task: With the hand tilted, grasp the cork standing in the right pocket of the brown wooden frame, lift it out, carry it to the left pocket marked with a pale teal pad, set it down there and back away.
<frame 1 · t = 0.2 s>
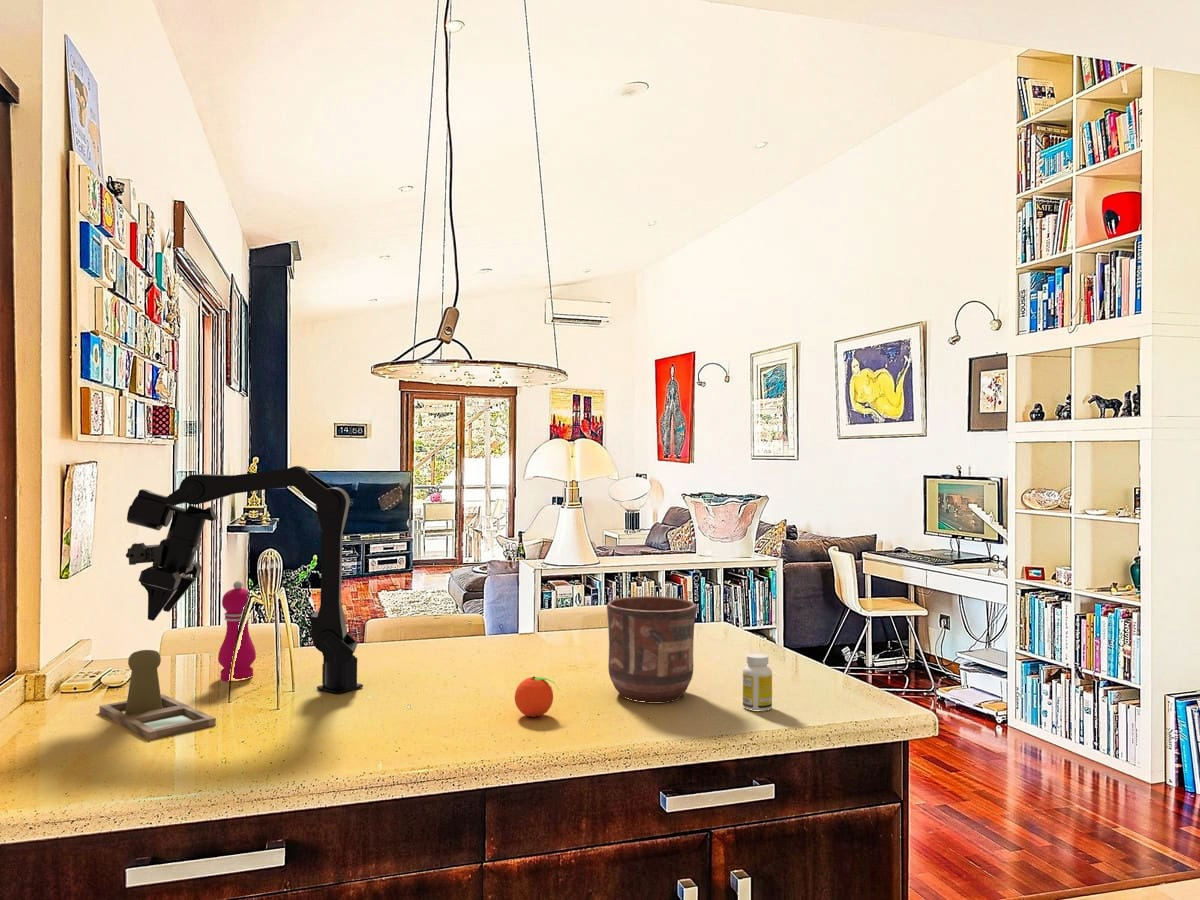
hand: (158, 615, 172), 15 cm above the counter, tool tilted 15°, fingers open, 9 cm apart
clementine: (536, 717, 161), on the counter
supplement bottle: (757, 709, 167), on the counter
brown wooden frame: (156, 718, 157), on the counter
pottery: (650, 695, 176), on the counter
cork: (144, 713, 160), resting in brown wooden frame
pepper mill: (236, 678, 185), on the counter
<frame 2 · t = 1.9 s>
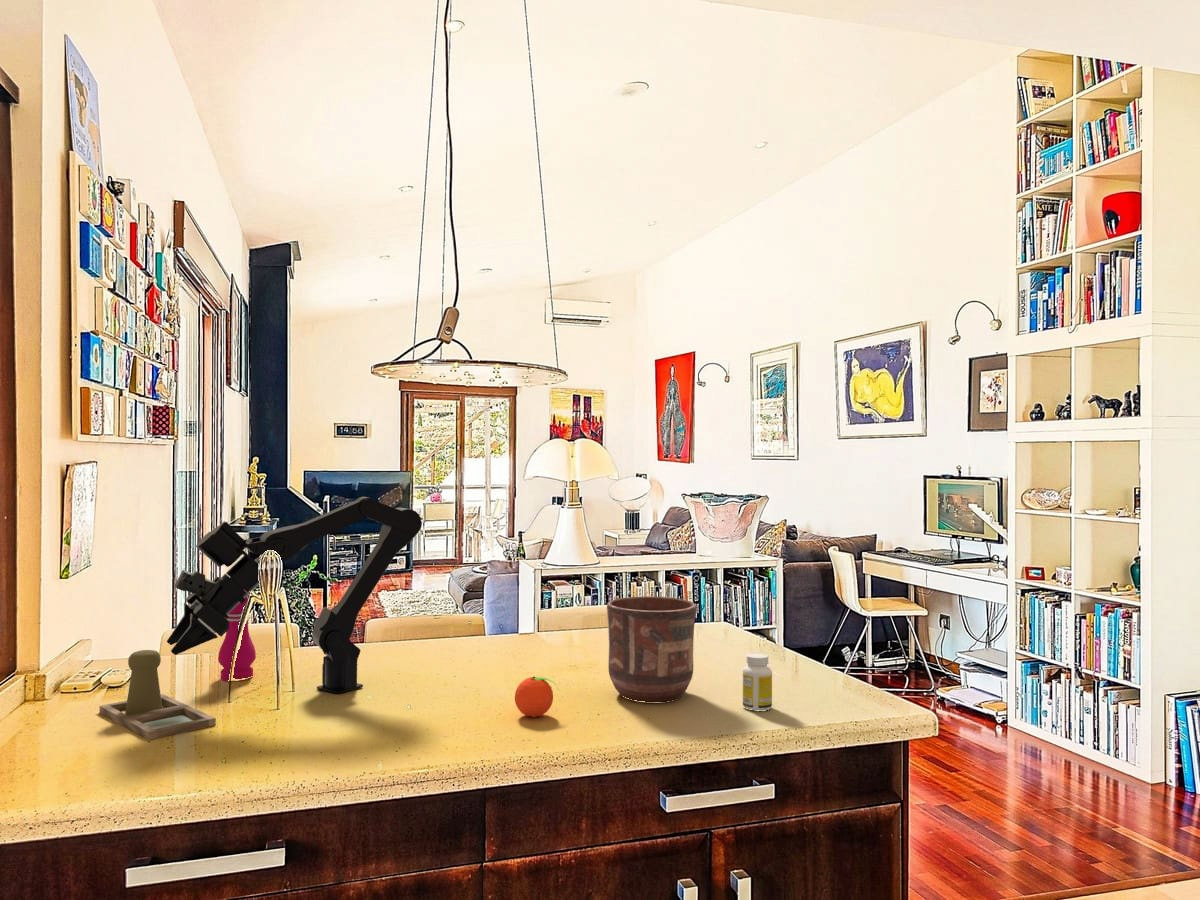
hand: (170, 648, 163), 11 cm above the counter, tool tilted 45°, fingers open, 9 cm apart
nothing on the counter moved.
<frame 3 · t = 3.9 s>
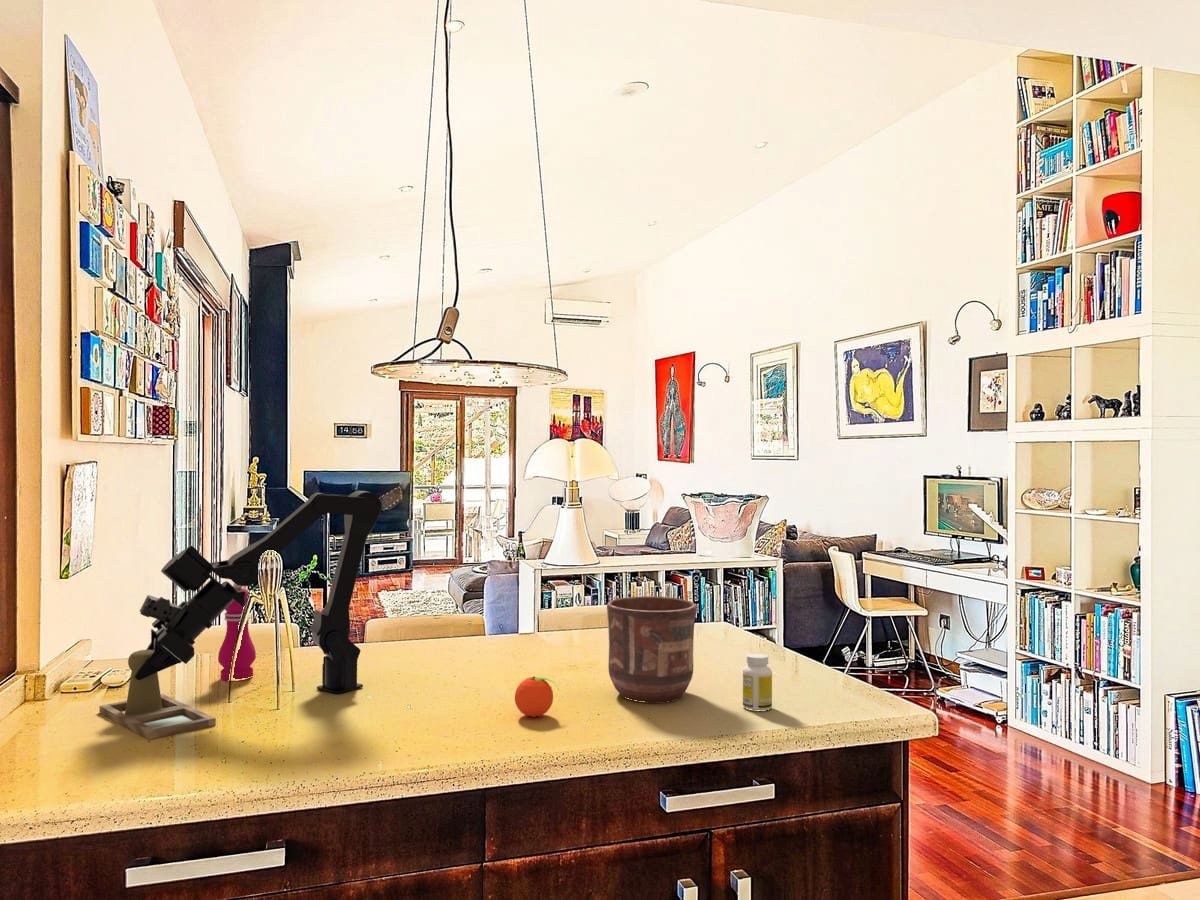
hand: (135, 675, 160), 7 cm above the counter, tool tilted 45°, fingers closed on cork, 5 cm apart
cork: (143, 713, 160), resting in brown wooden frame, touching gripper
everything else where it was.
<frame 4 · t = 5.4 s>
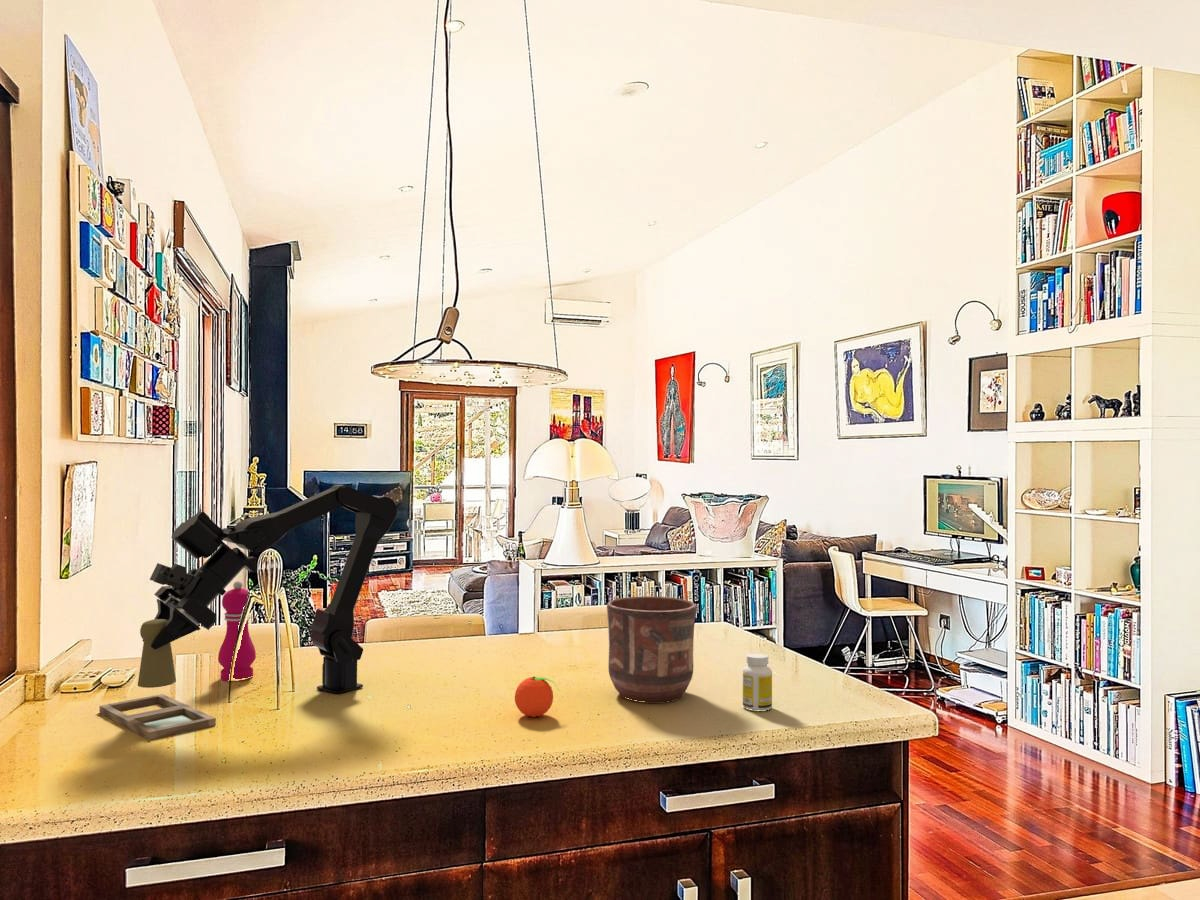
hand: (148, 645, 155), 13 cm above the counter, tool tilted 45°, fingers closed on cork, 5 cm apart
cork: (157, 684, 156), point 6 cm above the counter, touching gripper
everything else where it was.
when the fingers open (8 cm above the counter, at t = 7.1 s): cork stays where it is, resting on brown wooden frame.
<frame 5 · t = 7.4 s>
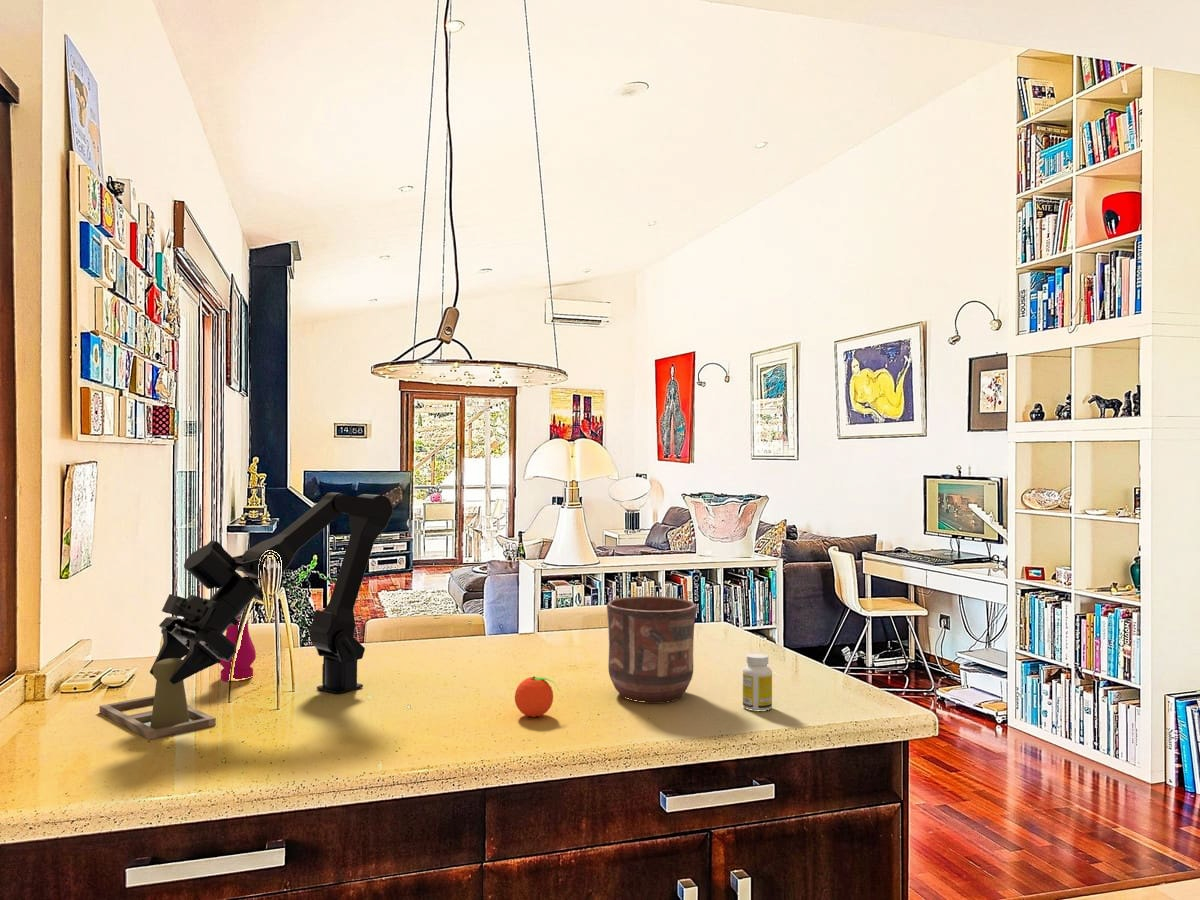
hand: (161, 678, 152), 8 cm above the counter, tool tilted 45°, fingers open, 8 cm apart
cork: (170, 724, 153), resting on brown wooden frame
everything else where it was.
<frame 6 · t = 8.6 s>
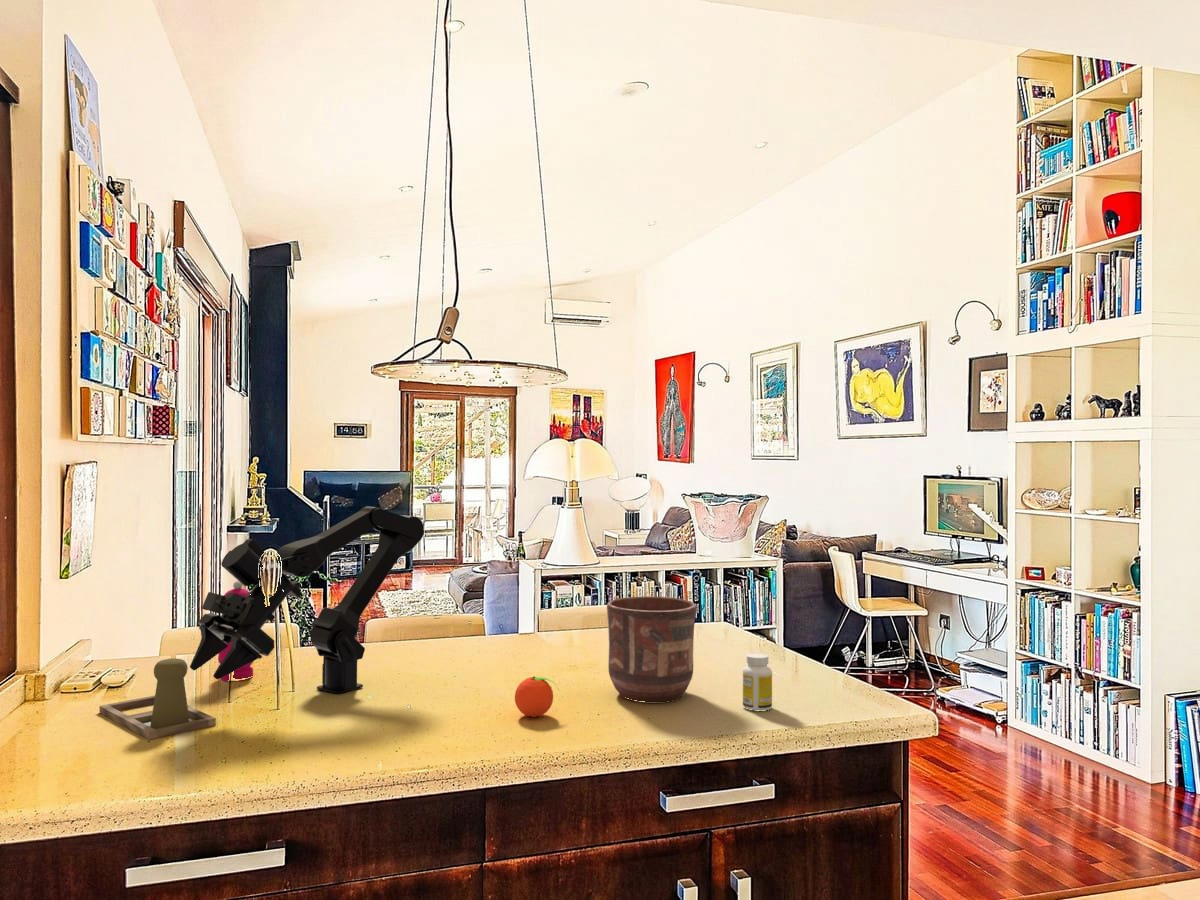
hand: (203, 673, 157), 8 cm above the counter, tool tilted 45°, fingers open, 9 cm apart
nothing on the counter moved.
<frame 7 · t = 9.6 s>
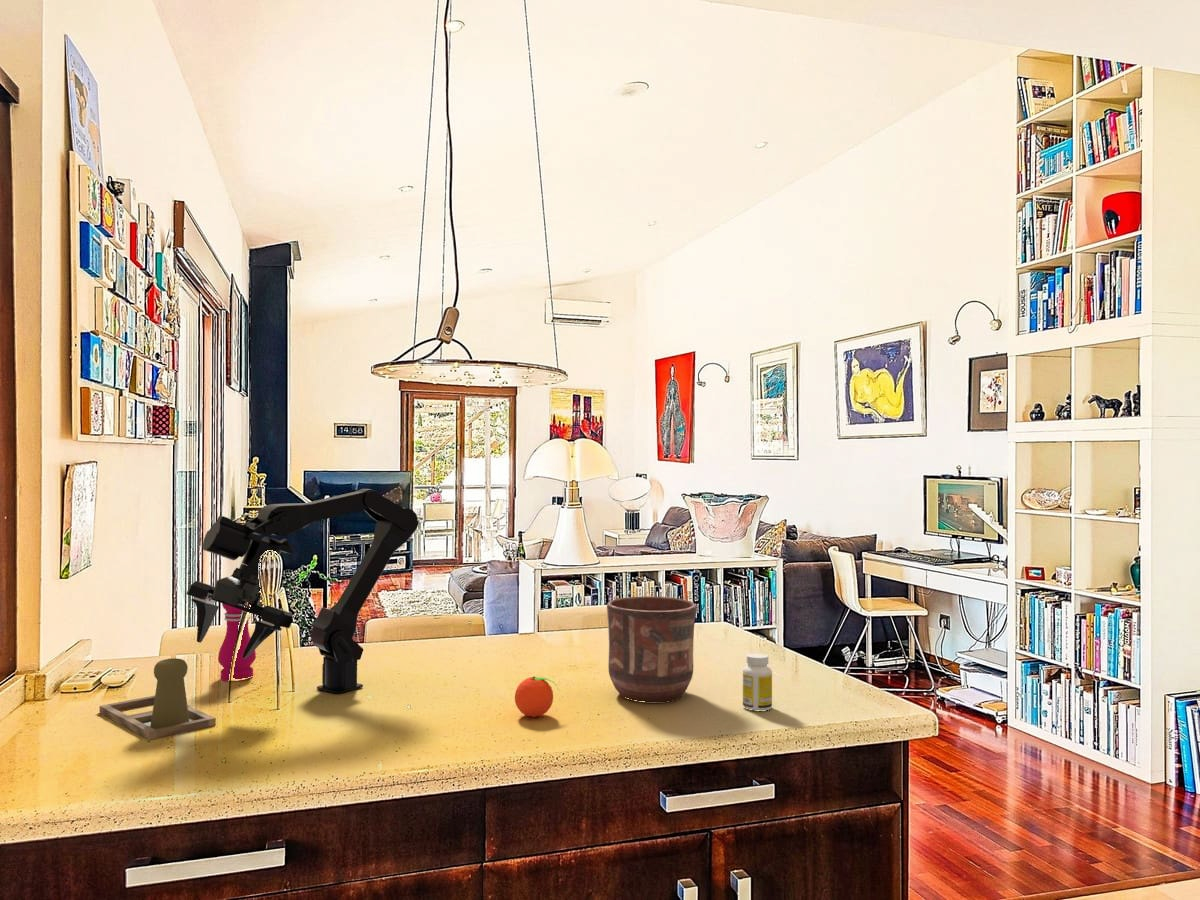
hand: (221, 650, 163), 11 cm above the counter, tool tilted 25°, fingers open, 9 cm apart
nothing on the counter moved.
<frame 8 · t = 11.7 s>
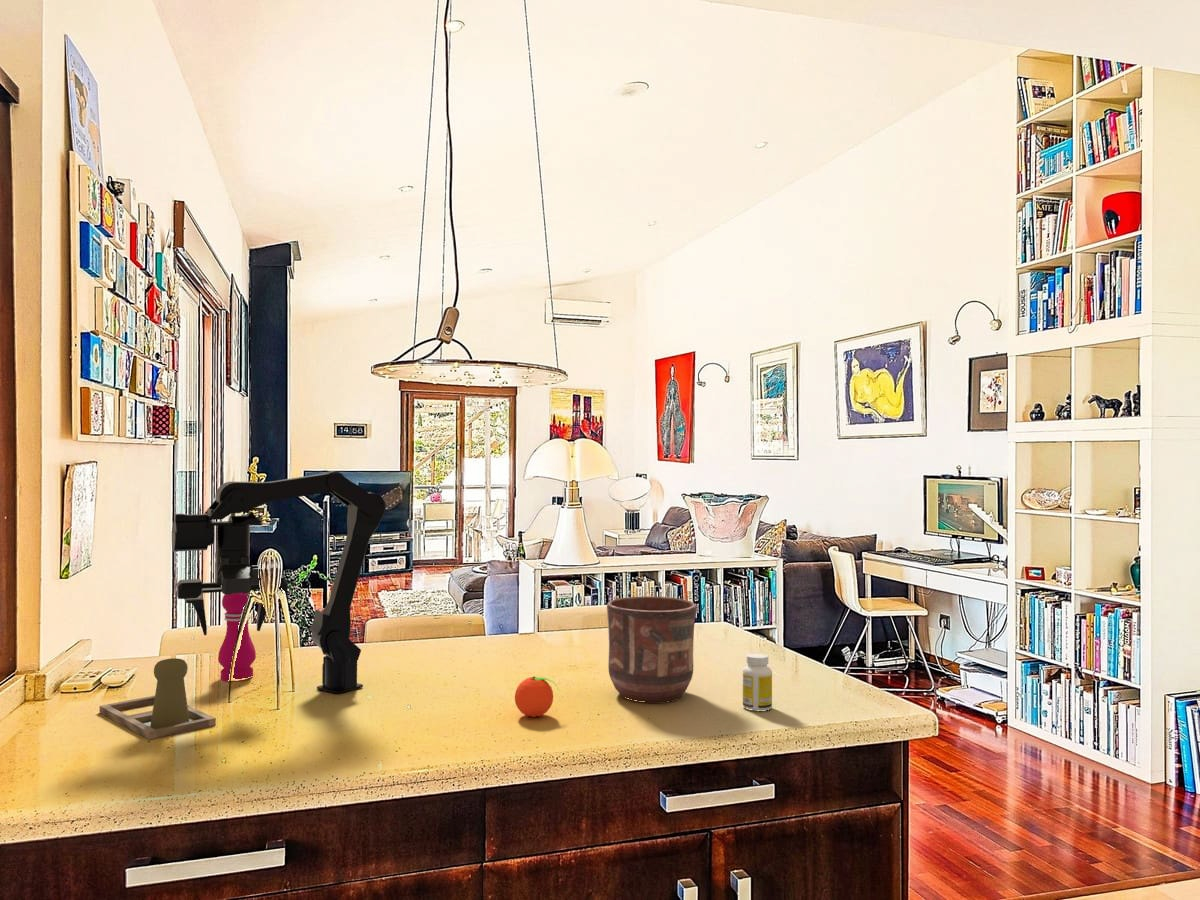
hand: (232, 632, 167), 13 cm above the counter, tool pointing down, fingers open, 9 cm apart
nothing on the counter moved.
at the end: cork inside the target area on the brown wooden frame (0.2 cm from its centre), point 0.0 cm above the brown wooden frame's base; cork tilted 0°; the gripper is holding nothing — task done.
